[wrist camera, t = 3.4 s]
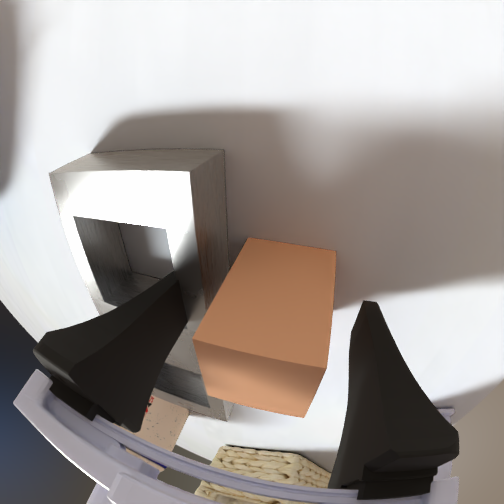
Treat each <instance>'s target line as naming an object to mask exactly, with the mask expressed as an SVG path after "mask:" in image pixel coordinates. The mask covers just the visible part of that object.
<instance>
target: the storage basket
mask: <svg viewBox="0 0 504 504" xmlns="http://www.w3.org/2000/svg"><path fill="white" fill-rule="evenodd" d="M210 466H212V467H215V468H219V469H222V470H226V471H229V472H233V473H237V474H240V475H245V476H249V477H253V478H258V479H262V480H267V481H272V482H278V483H284V484H290V485H298V486H306V487H315V488H327V487H328V483H329V480H330V477H331V473H329V472H327V471H325V470H324V469H322V468H320V467H318V466H317V465H316V464H314V463H313V462H311V461H309V460H307V459H306V458H304V457H302V456H301V455H297V454H293V453H282V452H270V451H265V450H261V451H256V450H255V449H242V448H239V447H229V446H222V447H220V448H219V450H218V453H217V454H216V456H215V458H214V459H213V461H212V463H211V464H210ZM195 495H198V496H201V497H204V498H207V499H210V500H213V501H216V502H220V503H223V504H316V503H305V502H297V501H289V500H282V499H276V498H271V497H265V496H260V495H255V494H251V493H247V492H242V491H238V490H234V489H231V488H227V487H223V486H220V485H217V484H213V483H210V482H207V481H204V480H202V482H201V485H200V486H199V488H198V489H197V490H196V491H195Z"/></svg>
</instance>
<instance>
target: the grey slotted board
mask: <svg viewBox="0 0 504 504" xmlns="http://www.w3.org/2000/svg"><path fill="white" fill-rule="evenodd" d="M49 176H50V180H51V184H52V188H53V192H54V196H55V200H56V203H57V207H58V210H59V214H60V217H61V220H62V223H63V227H64V230H65V233H66V236H67V238H68V241H69V244H70V247H71V250H72V252H73V255H74V258H75V260H76V263H77V265H78V268H79V270H80V273H81V275H82V277H83V280H84V282H85V284H86V287H87V289H88V291H89V293H90V296H91V298H92V300H93V302H94V304H95V306H96V308H97V310H98V312H99V314H100V315H103V314H105V313H107V312H109V311H111V310H113V309H115V308H117V307H119V306H121V305H122V304H124V303H126V302H127V301H129V300H131V299H132V298H134V297H136V296H137V295H139V294H140V293H142V292H144V291H145V290H147V289H148V288H150V287H151V286H153V285H154V284H156V283H157V282H159V281H160V280H161V279H158V278H154V277H150V276H146V275H142V274H138V273H134V272H132V271H131V268H130V265H129V262H128V258H127V255H126V251H125V248H124V244H123V240H122V237H121V233H120V229H119V225H118V222H123V223H130V224H137V225H144V226H151V227H158V228H165V229H166V231H167V236H168V242H169V247H170V253H171V258H172V263H173V268H174V273H175V278H176V280H179V284H180V289H181V293H182V298H183V303H184V307H185V311H186V316H187V320H188V323H187V324H186V326H185V328H184V330H183V331H182V333H181V335H180V336H179V338H178V340H177V341H176V343H175V345H174V346H173V348H172V350H171V352H170V353H169V355H168V357H167V359H166V361H165V362H164V365H163V367H162V369H161V371H160V374H159V376H158V378H157V381H156V383H155V386H154V389H153V391H152V394H151V395H153V396H155V397H158V398H160V399H163V400H165V401H168V402H170V403H173V404H175V405H178V406H181V407H183V408H186V409H189V410H192V411H195V412H198V413H201V414H204V415H207V416H210V417H213V418H216V419H220V420H223V421H228V419H229V416H230V413H231V411H232V408H233V405H234V403H233V402H229V401H226V400H222V399H219V398H215V397H212V396H209V395H208V394H207V391H206V387H205V384H204V381H203V377H202V374H201V370H200V367H199V363H198V359H197V356H196V352H195V348H194V344H193V340H192V338H193V336H194V334H195V332H196V330H197V328H198V327H199V325H200V323H201V321H202V319H203V318H204V316H205V314H206V312H207V310H208V309H209V307H210V305H211V303H212V301H213V300H214V298H215V296H216V294H217V292H218V291H219V289H220V287H221V285H222V283H223V282H224V280H225V278H226V276H227V274H228V273H229V257H228V238H227V216H226V192H225V163H224V150H217V149H149V150H127V151H112V152H100V153H90V154H87V155H85V156H83V157H81V158H79V159H77V160H74V161H72V162H70V163H68V164H66V165H64V166H62V167H60V168H58V169H56V170H54V171H53V172H51V173H49Z"/></svg>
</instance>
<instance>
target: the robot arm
mask: <svg viewBox="0 0 504 504" xmlns="http://www.w3.org/2000/svg"><path fill="white" fill-rule="evenodd" d="M187 323H188V320H187V316H186V311H185V307H184V303H183V298H182V293H181V289H180V284H179V280H176V278H175V273H174V271H173V272H172V273H170V274H169V275H167V276H166V277H164V278H163V279H161V280H160V281H159V282H157V283H156V284H154V285H153V286H151V287H150V288H148V289H147V290H145V291H144V292H142V293H140V294H139V295H137V296H136V297H134V298H132V299H131V300H129V301H127V302H126V303H124V304H122V305H121V306H119V307H117V308H115V309H113V310H111V311H109V312H107V313H105V314H103V315H100V316H98V317H95V318H93V319H91V320H88V321H86V322H83V323H80V324H77V325H74V326H71V327H67V328H63V329H59V330H55V331H50V332H47V333H46V334H45V335H44V336H43V338H42V339H41V340H40V341H39V343H38V344H37V345H36V347H35V348H34V349H33V352H34V354H35V356H36V357H37V359H38V360H39V361H40V362H41V363H42V365H43V366H44V367H45V368H46V369H47V370H48V372H49V373H50V374H51V375H52V376H51V377H50V378H48V377H47V376H45V375H44V374H43V373H41V372H40V371H39V370H38V369H36V370H35V372H34V373H33V375H32V376H31V377H30V379H29V380H28V382H27V383H26V384H25V386H24V387H23V389H22V390H21V392H20V393H19V395H18V396H17V398H16V399H15V401H14V402H13V403H14V405H15V406H16V407H17V408H18V409H19V410H20V411H21V412H22V414H23V415H24V416H25V417H26V418H27V419H28V420H29V421H30V422H31V423H32V424H33V425H34V426H35V427H36V428H37V429H38V430H39V431H40V433H42V435H43V436H44V437H45V438H47V440H48V441H49V442H50V443H51V444H52V445H53V446H55V447H56V448H57V449H58V450H59V451H60V452H61V453H62V454H63V455H64V456H65V457H67V458H68V459H69V460H70V461H71V462H72V463H73V464H75V465H76V466H77V467H78V468H79V469H81V470H82V471H83V472H84V473H86V474H87V475H88V476H89V477H91V478H92V479H93V480H95V481H96V482H97V484H96V486H95V488H94V490H93V492H92V494H91V496H90V498H89V500H88V502H87V503H86V504H223V503H220V502H216V501H213V500H210V499H207V498H204V497H201V496H198V495H195V494H192V493H189V492H186V491H183V490H181V489H178V488H176V487H174V486H171V485H169V484H166V483H164V482H162V481H159V480H157V476H158V474H159V472H160V471H159V469H157V468H155V467H153V466H151V465H150V464H148V463H146V462H145V461H143V460H142V459H140V458H138V457H136V456H134V455H132V454H130V453H129V452H127V451H126V448H125V447H127V448H129V449H131V450H133V451H135V452H137V453H139V454H141V455H143V456H145V457H147V458H149V459H151V460H153V461H156V462H158V463H160V464H162V465H165V466H167V467H169V468H172V469H175V470H177V471H179V472H182V473H185V474H187V475H190V476H193V477H195V478H198V479H201V480H204V481H207V482H210V483H213V484H217V485H220V486H223V487H227V488H231V489H234V490H238V491H242V492H247V493H251V494H255V495H260V496H265V497H271V498H276V499H282V500H289V501H297V502H305V503H316V504H457V499H458V486H459V477H453V478H450V475H451V470H452V460H453V459H455V458H456V457H457V456H458V455H459V436H458V431H457V430H456V429H455V428H454V427H453V426H452V425H451V417H450V416H452V415H453V414H454V413H455V409H453V408H451V409H436V407H435V406H434V405H433V404H432V402H431V401H430V400H429V398H428V397H427V396H426V394H425V393H424V391H423V390H422V389H421V387H420V386H419V384H418V383H417V381H416V380H415V378H414V376H413V375H412V373H411V372H410V370H409V368H408V366H407V365H406V363H405V361H404V359H403V357H402V355H401V353H400V351H399V349H398V347H397V345H396V343H395V341H394V339H393V337H392V335H391V333H390V330H389V328H388V326H387V324H386V322H385V319H384V317H383V315H382V312H381V310H380V308H379V305H378V303H377V302H371V301H365V300H363V303H362V305H361V308H360V311H359V313H358V316H357V319H356V321H355V324H354V326H353V329H352V331H351V339H350V348H349V389H348V405H347V411H346V417H345V423H344V428H343V433H342V437H341V442H340V446H339V450H338V454H337V458H336V461H335V464H334V468H333V471H332V474H331V477H330V480H329V483H328V487H327V488H315V487H306V486H298V485H290V484H284V483H278V482H272V481H267V480H262V479H258V478H253V477H249V476H245V475H240V474H237V473H233V472H229V471H226V470H222V469H219V468H215V467H212V466H209V465H206V464H203V463H200V462H197V461H194V460H191V459H188V458H186V457H183V456H181V455H178V454H175V453H173V452H171V451H168V450H166V449H163V448H161V447H159V446H157V445H154V444H152V443H150V442H148V441H146V440H144V439H141V438H139V437H137V436H135V435H133V434H131V433H129V432H128V431H126V430H124V429H122V428H120V427H118V426H121V427H123V428H125V429H127V430H129V431H131V432H133V433H136V432H139V431H140V430H141V426H142V422H143V419H144V415H145V412H146V409H147V406H148V403H149V400H150V397H151V394H152V391H153V389H154V386H155V383H156V381H157V378H158V376H159V374H160V371H161V369H162V367H163V365H164V362H165V361H166V359H167V357H168V355H169V353H170V352H171V350H172V348H173V346H174V345H175V343H176V341H177V340H178V338H179V336H180V335H181V333H182V331H183V330H184V328H185V326H186V324H187ZM113 423H114V424H116V425H118V426H116V425H114V424H113Z"/></svg>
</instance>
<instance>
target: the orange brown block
mask: <svg viewBox="0 0 504 504" xmlns="http://www.w3.org/2000/svg"><path fill="white" fill-rule="evenodd" d="M335 271H336V251H333V250H326V249H320V248H314V247H308V246H301V245H295V244H289V243H282V242H276V241H269V240H263V239H256V238H250V237H248V239H247V241H246V242H245V244H244V246H243V248H242V250H241V251H240V253H239V255H238V257H237V258H236V260H235V262H234V264H233V266H232V267H231V269H230V271H229V273H228V274H227V276H226V278H225V280H224V282H223V283H222V285H221V287H220V289H219V291H218V292H217V294H216V296H215V298H214V300H213V301H212V303H211V305H210V307H209V309H208V310H207V312H206V314H205V316H204V318H203V319H202V321H201V323H200V325H199V327H198V328H197V330H196V332H195V334H194V336H193V338H192V340H193V344H194V348H195V352H196V356H197V359H198V363H199V367H200V370H201V374H202V377H203V381H204V384H205V387H206V391H207V394H208V395H209V396H212V397H215V398H219V399H222V400H226V401H229V402H233V403H236V404H240V405H244V406H248V407H252V408H256V409H261V410H265V411H270V412H275V413H280V414H285V415H290V416H296V417H302V418H304V417H305V415H306V413H307V411H308V409H309V407H310V404H311V402H312V400H313V398H314V396H315V394H316V391H317V389H318V387H319V385H320V383H321V380H322V378H323V376H324V373H325V371H326V369H327V362H328V354H329V345H330V336H331V326H332V315H333V303H334V288H335Z"/></svg>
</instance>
